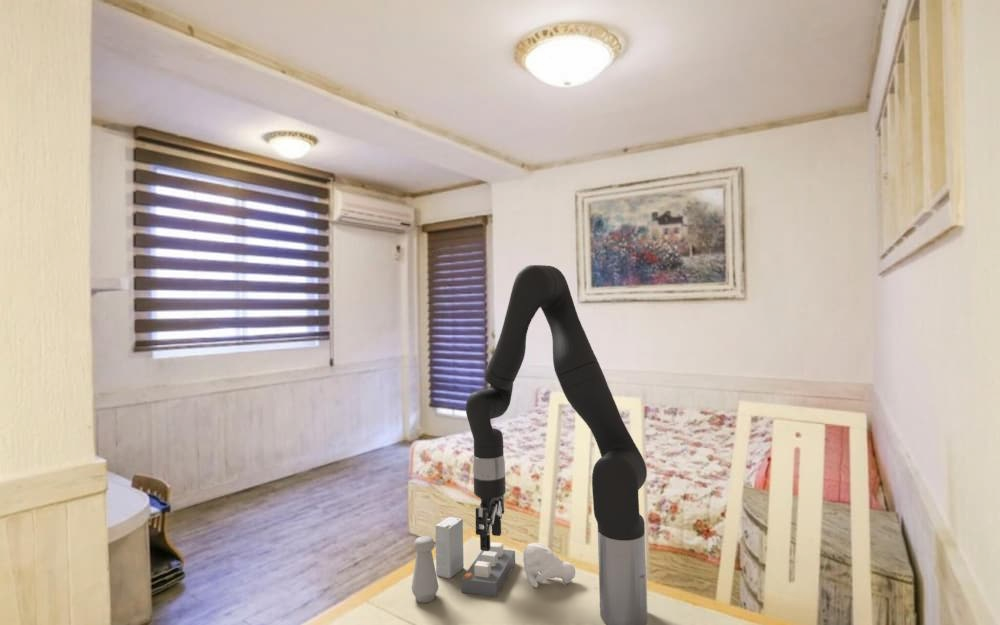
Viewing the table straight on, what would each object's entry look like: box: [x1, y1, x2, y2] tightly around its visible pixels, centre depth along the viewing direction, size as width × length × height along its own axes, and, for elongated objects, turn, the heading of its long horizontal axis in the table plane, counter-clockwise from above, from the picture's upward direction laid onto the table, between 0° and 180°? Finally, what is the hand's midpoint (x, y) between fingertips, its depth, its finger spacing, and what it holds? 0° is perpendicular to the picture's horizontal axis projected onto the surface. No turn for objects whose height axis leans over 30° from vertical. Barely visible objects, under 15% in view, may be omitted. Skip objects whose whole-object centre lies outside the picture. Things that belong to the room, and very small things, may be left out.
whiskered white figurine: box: [523, 542, 576, 588], centre depth 120 cm, size 6×8×12 cm
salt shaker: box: [411, 535, 439, 604], centre depth 114 cm, size 6×6×13 cm
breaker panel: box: [461, 541, 516, 598], centre depth 123 cm, size 8×16×5 cm, turn 163°
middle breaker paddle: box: [481, 551, 498, 567], centre depth 123 cm, size 3×2×2 cm
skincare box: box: [434, 516, 465, 579], centre depth 126 cm, size 6×4×12 cm
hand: (491, 542), depth 124 cm, fingers open, 8 cm apart
